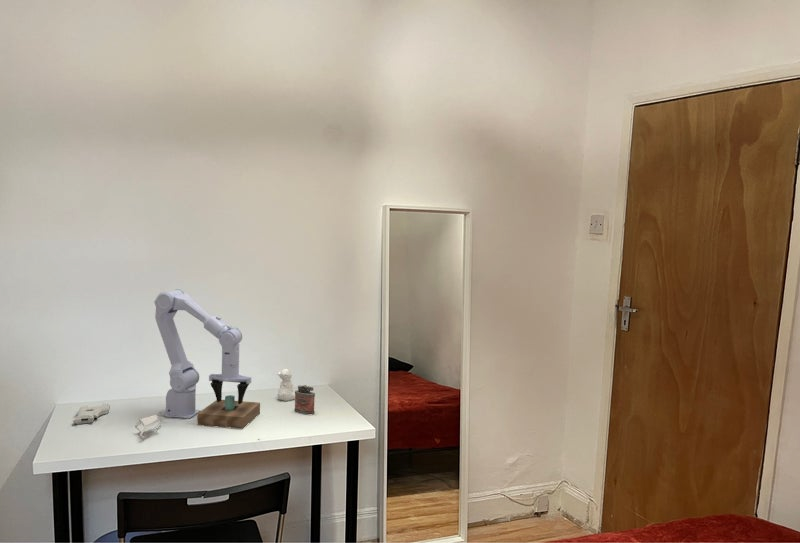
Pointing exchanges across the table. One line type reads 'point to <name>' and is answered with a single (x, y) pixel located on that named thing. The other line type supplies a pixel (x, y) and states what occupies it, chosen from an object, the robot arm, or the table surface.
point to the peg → (230, 402)
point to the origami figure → (147, 423)
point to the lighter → (304, 400)
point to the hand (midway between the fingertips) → (229, 402)
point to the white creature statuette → (285, 386)
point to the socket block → (228, 414)
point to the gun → (90, 413)
